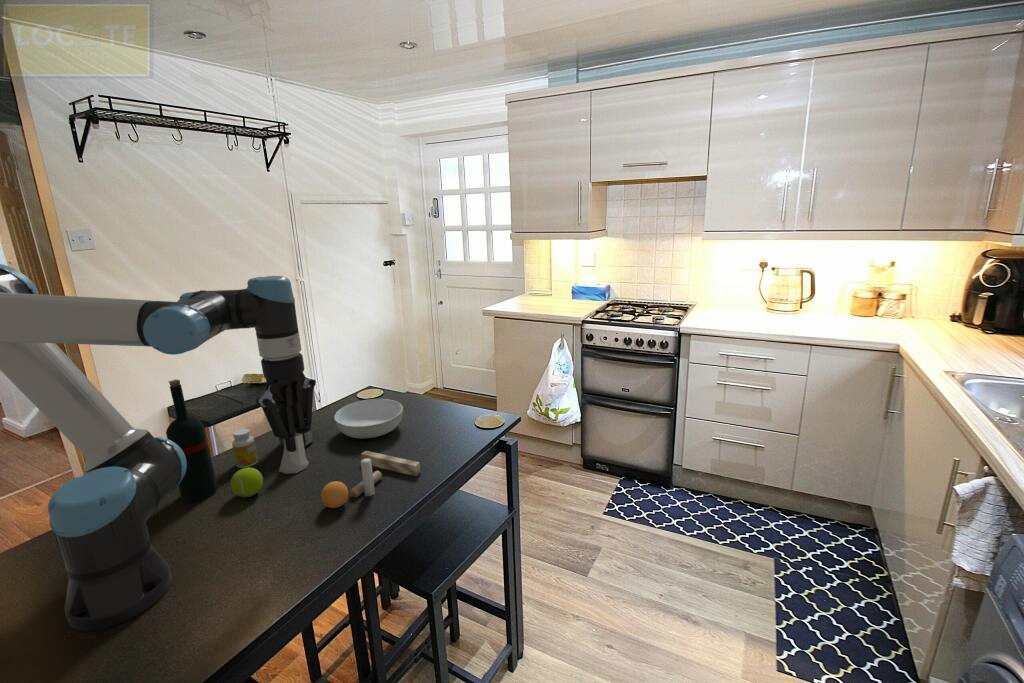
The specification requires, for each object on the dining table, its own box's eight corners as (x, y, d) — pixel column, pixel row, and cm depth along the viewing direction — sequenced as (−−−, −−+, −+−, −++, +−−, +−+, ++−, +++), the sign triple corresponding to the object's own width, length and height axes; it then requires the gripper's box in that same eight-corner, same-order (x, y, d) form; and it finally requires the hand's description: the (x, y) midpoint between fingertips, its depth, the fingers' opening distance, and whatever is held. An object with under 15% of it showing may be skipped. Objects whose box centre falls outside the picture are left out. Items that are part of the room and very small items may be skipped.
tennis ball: (254, 484, 124) (249, 459, 123) (270, 491, 121) (266, 466, 119) (227, 498, 119) (222, 472, 117) (243, 506, 115) (238, 480, 113)
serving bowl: (322, 442, 146) (319, 421, 145) (362, 415, 166) (359, 396, 164) (382, 450, 140) (380, 428, 139) (416, 420, 160) (414, 401, 158)
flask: (297, 476, 128) (292, 441, 125) (273, 473, 129) (267, 439, 127) (313, 462, 135) (308, 429, 132) (290, 460, 136) (285, 428, 134)
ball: (351, 483, 118) (348, 509, 115) (326, 482, 117) (322, 509, 114) (347, 479, 112) (344, 507, 110) (320, 479, 111) (316, 506, 109)
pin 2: (356, 489, 116) (381, 471, 124) (349, 488, 117) (373, 470, 125) (358, 498, 117) (382, 479, 125) (351, 497, 118) (375, 478, 126)
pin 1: (366, 497, 117) (362, 464, 115) (363, 493, 119) (359, 460, 116) (376, 494, 118) (372, 461, 116) (372, 490, 120) (368, 457, 118)
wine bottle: (164, 503, 117) (135, 387, 110) (206, 482, 126) (181, 373, 118) (183, 511, 114) (154, 392, 106) (224, 489, 123) (201, 377, 115)
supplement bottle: (231, 466, 134) (225, 434, 131) (247, 457, 138) (241, 426, 136) (246, 469, 132) (240, 437, 129) (262, 460, 137) (256, 428, 134)
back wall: (420, 472, 128) (419, 462, 127) (416, 476, 126) (415, 466, 125) (366, 460, 135) (365, 450, 134) (362, 463, 133) (360, 453, 132)
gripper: (266, 367, 88) (286, 481, 94) (320, 348, 99) (335, 451, 106) (238, 362, 91) (259, 474, 97) (294, 345, 102) (309, 445, 109)
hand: (299, 462), depth 101 cm, fingers closed
